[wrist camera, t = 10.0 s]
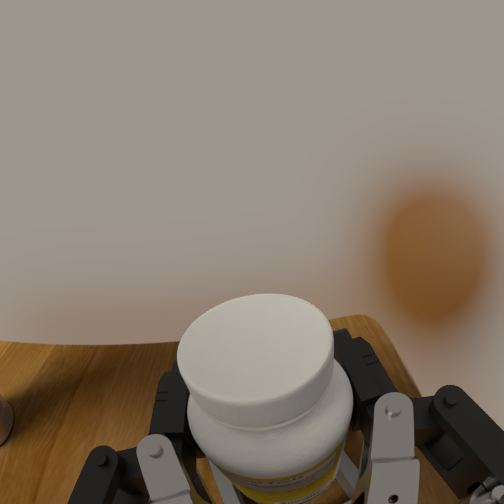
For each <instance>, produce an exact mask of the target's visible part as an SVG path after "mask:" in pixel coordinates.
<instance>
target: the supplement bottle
mask: <svg viewBox="0 0 504 504" xmlns="http://www.w3.org/2000/svg"><path fill="white" fill-rule="evenodd" d="M177 363H178V367H179V371H180V373H181V375H182V377H183V379H184V381H185V383H186V385H187V387H188V389H189V391H190V396H189V400H188V407H187V417H188V423H189V427H190V430H191V433H192V435H193V437H194V439H195V441H196V443H197V444H198V446H199V447H200V449H201V450H202V451H203V453H204V454H205V455H206V456H207V457H208V458H209V460H210V461H211V462H212V463H213V464H214V465H215V466H216V467H217V468H218V469H219V470H220V471H221V472H222V473H223V475H224V476H225V477H226V478H227V479H228V480H229V481H230V482H231V483H232V484H234V485H235V486H236V487H237V488H238V489H239V490H240V491H241V492H242V493H243V494H244V495H246V496H247V497H248V498H250V499H251V500H253V501H255V502H257V503H259V504H305V503H308V502H310V501H312V500H314V499H315V498H317V497H318V496H320V495H321V494H322V493H323V492H324V491H326V490H327V489H328V487H329V486H330V485H331V483H332V482H333V480H334V478H335V476H336V474H337V471H338V468H339V465H340V461H341V458H342V454H343V450H344V446H345V442H346V438H347V434H348V430H349V425H350V421H351V417H352V410H353V392H352V388H351V384H350V381H349V379H348V376H347V374H346V373H345V371H344V370H343V368H342V367H341V366H340V364H339V363H338V362H337V361H336V360H335V359H334V337H333V331H332V328H331V325H330V323H329V321H328V319H327V318H326V316H325V315H324V314H323V313H322V312H321V311H320V310H319V309H318V308H317V307H316V306H314V305H312V304H311V303H309V302H307V301H305V300H303V299H300V298H297V297H294V296H289V295H284V294H256V295H248V296H243V297H239V298H236V299H233V300H230V301H227V302H224V303H222V304H220V305H218V306H216V307H214V308H212V309H210V310H208V311H207V312H205V313H204V314H203V315H201V316H200V317H199V318H198V319H196V320H195V321H194V322H193V323H192V324H191V325H190V326H189V327H188V329H187V330H186V331H185V333H184V335H183V337H182V338H181V341H180V343H179V346H178V351H177Z"/></svg>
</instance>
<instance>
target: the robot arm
mask: <svg viewBox="0 0 504 504" xmlns="http://www.w3.org/2000/svg"><path fill="white" fill-rule="evenodd" d="M333 337H334V359H335V360H336V361H337V362H338V363H339V364H340V366H341V367H342V368H343V370H344V371H345V373H346V374H347V376H348V379H349V381H350V384H351V388H352V392H353V410H352V417H351V421H350V425H351V427H352V430H353V432H355V431H358V430H361V431H362V433H363V436H364V438H363V442H362V451H361V458H360V465H359V472H358V478H357V483H356V486H355V489H354V492H353V497H352V501H351V504H391V501H393V504H417V501H418V490H419V474H420V463H419V460H418V458H417V457H415V455H414V446H417V447H418V448H419V449H420V451H421V452H422V453H423V454H424V456H425V457H426V458H427V459H428V461H429V462H430V463H431V464H432V466H433V467H434V468H435V469H436V471H437V472H438V473H439V475H440V476H441V477H442V478H443V480H444V481H445V482H446V483H447V485H448V486H449V487H450V488H451V490H452V491H453V492H454V494H455V495H456V496H457V497H458V499H459V500H460V501H459V503H458V504H504V431H503V430H502V429H501V428H500V427H499V426H498V425H497V424H496V423H495V422H494V421H493V420H492V419H491V418H490V417H489V416H488V415H487V414H486V413H485V412H484V411H483V410H482V409H481V408H480V407H479V406H478V405H477V404H476V403H475V402H474V401H473V400H472V399H471V398H470V397H469V396H468V395H467V394H466V393H465V392H464V391H463V390H462V389H461V388H459V387H458V386H455V385H446V386H443V387H441V388H440V389H439V390H438V391H437V392H436V394H435V395H434V396H429V397H421V398H409V397H407V396H406V395H404V394H402V393H399V392H398V391H397V390H396V388H395V386H394V385H393V383H392V381H391V379H390V378H389V376H388V374H387V372H386V371H385V369H384V367H383V366H382V364H381V362H379V359H378V357H377V355H375V352H374V350H373V349H372V347H371V345H370V344H369V343H368V342H367V341H365V340H364V339H362V338H361V337H357V338H354V339H352V338H351V336H350V334H349V332H348V330H347V329H346V328H343V329H339V330H336V331H333ZM189 396H190V391H189V389H188V387H187V385H186V383H185V381H184V379H183V377H182V375H181V373H180V371H179V367H178V363H177V359H175V360H174V363H173V369H172V372H165V373H164V375H163V376H162V378H161V379H160V380H159V383H158V388H157V394H156V398H155V403H154V408H153V414H152V419H151V425H150V431H149V434H148V436H146V437H145V438H143V439H142V440H141V441H140V442H139V444H138V446H137V447H134V448H131V449H126V450H122V451H117V452H116V451H115V450H114V449H112V448H111V447H109V446H98V447H96V448H94V449H93V450H92V451H91V452H90V454H89V456H88V458H87V460H86V462H85V464H84V467H83V469H82V471H81V473H80V475H79V478H78V480H77V482H76V485H75V487H74V489H73V492H72V494H71V496H70V499H69V501H68V504H147V503H148V504H216V503H215V502H214V500H213V498H212V496H211V494H210V492H209V491H208V489H207V487H206V485H205V483H204V481H203V479H202V477H201V475H200V473H199V471H198V469H197V468H196V458H205V454H204V453H203V451H202V450H201V449H200V447H199V446H198V444H197V443H196V441H195V439H194V437H193V435H192V433H191V430H190V427H189V423H188V417H187V407H188V400H189ZM12 425H13V410H12V407H11V406H10V405H9V403H8V402H7V401H6V400H5V399H4V398H3V397H2V396H1V394H0V445H1V444H2V443H3V442H4V441H5V440H6V438H7V437H8V435H9V433H10V431H11V428H12ZM149 497H150V502H148V500H149Z"/></svg>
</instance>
